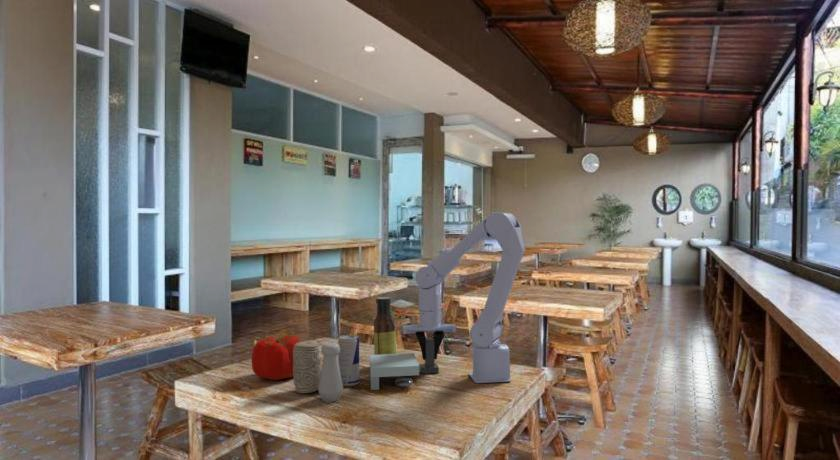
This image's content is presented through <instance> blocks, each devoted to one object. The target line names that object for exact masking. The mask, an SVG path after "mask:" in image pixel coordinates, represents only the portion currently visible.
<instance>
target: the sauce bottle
mask: <svg viewBox="0 0 840 460" xmlns="http://www.w3.org/2000/svg"><path fill="white" fill-rule="evenodd" d="M375 301H376V316H375V318H374V321H373V346H374V347H373V348H374V355H383V354H397V339H396V338H397V335H396V334H397V333H396V324H395V322H394V318H393V316H392V312H391V302H392V301H391V297H390V296H379V297H377V298H376V299H375Z"/></svg>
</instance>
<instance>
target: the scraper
mask: <svg viewBox="0 0 840 460" xmlns="http://www.w3.org/2000/svg"><path fill="white" fill-rule="evenodd" d="M425 351H426V360H424V363H418V364H419V373H422V374H423V375H424V374H425V375H426V374H439V371H440V368H439V365H438V364H437V363H436V362H435V359H434V338H433V336H432V337H426V343H425Z"/></svg>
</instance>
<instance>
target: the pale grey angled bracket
mask: <svg viewBox="0 0 840 460" xmlns="http://www.w3.org/2000/svg"><path fill="white" fill-rule="evenodd" d="M419 364H420V363H419V362H418V360H417V357H416V355H415V353H414V352H413V353H412V352H411V353H396V354H383V355H375V354H369V381H370V390H371V391H378V390H380V378H382V377H405V376H406V377H407V376H420V372H419Z"/></svg>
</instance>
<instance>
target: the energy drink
mask: <svg viewBox="0 0 840 460" xmlns="http://www.w3.org/2000/svg"><path fill="white" fill-rule="evenodd" d="M337 344H338V345H339V347H340V353H339V354H337V356H338V362H339V368H340V373H341V379H342V384H343V387H353V386H357V385H358V384H359V383H360V339H359V335H356V334H344V335H340V336H339V337H338V340H337Z"/></svg>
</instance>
